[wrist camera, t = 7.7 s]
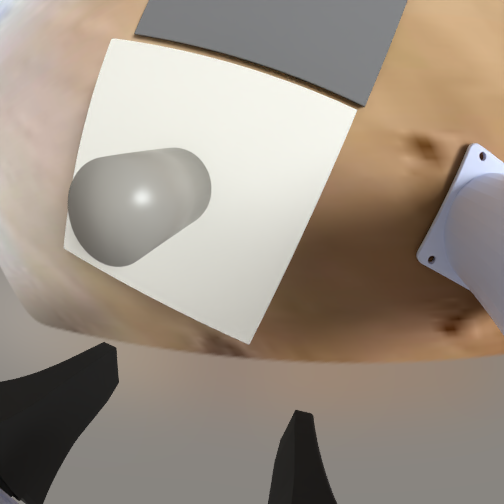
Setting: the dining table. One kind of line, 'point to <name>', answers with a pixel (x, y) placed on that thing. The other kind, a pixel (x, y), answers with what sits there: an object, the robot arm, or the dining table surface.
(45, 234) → the dining table surface
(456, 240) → the robot arm
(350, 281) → the dining table surface
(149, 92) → the lid
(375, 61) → the mat
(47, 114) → the dining table surface
